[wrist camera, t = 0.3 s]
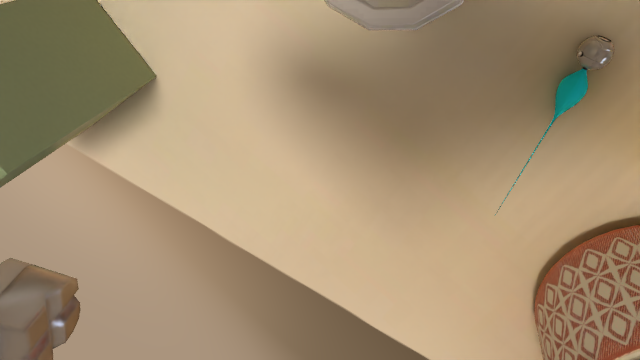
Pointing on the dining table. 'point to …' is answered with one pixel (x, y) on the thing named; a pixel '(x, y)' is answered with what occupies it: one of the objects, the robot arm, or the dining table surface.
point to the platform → (58, 76)
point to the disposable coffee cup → (393, 12)
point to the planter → (593, 300)
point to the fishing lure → (581, 75)
